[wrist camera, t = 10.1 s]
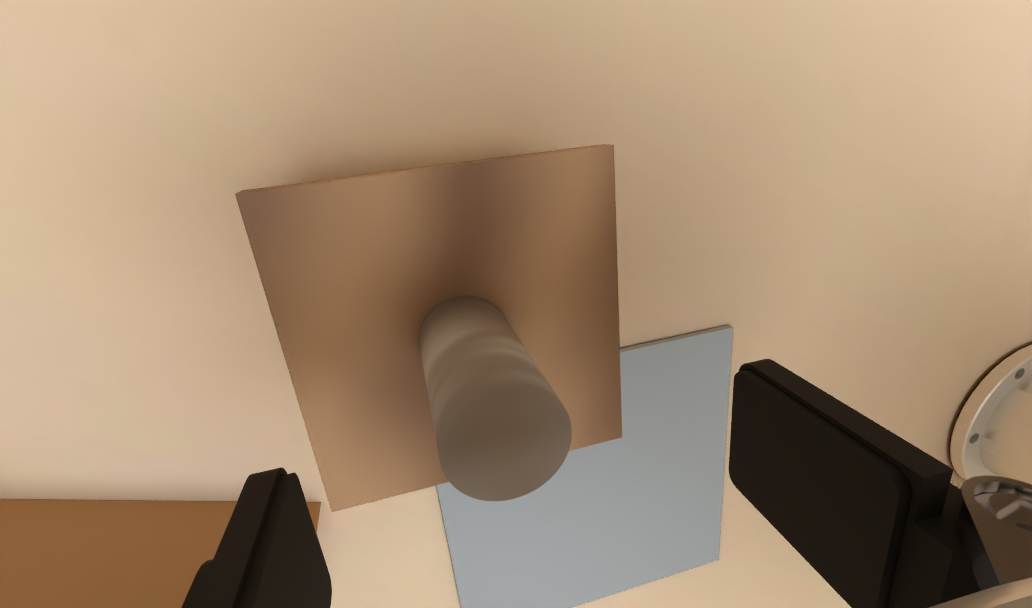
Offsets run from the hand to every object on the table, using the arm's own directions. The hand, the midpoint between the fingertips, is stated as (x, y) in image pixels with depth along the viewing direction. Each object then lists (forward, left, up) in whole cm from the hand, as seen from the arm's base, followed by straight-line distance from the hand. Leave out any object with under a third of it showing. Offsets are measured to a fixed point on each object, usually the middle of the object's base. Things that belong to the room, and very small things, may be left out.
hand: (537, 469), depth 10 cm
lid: (0, 0, -8) cm, 8 cm away
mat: (-7, +15, -15) cm, 22 cm away
